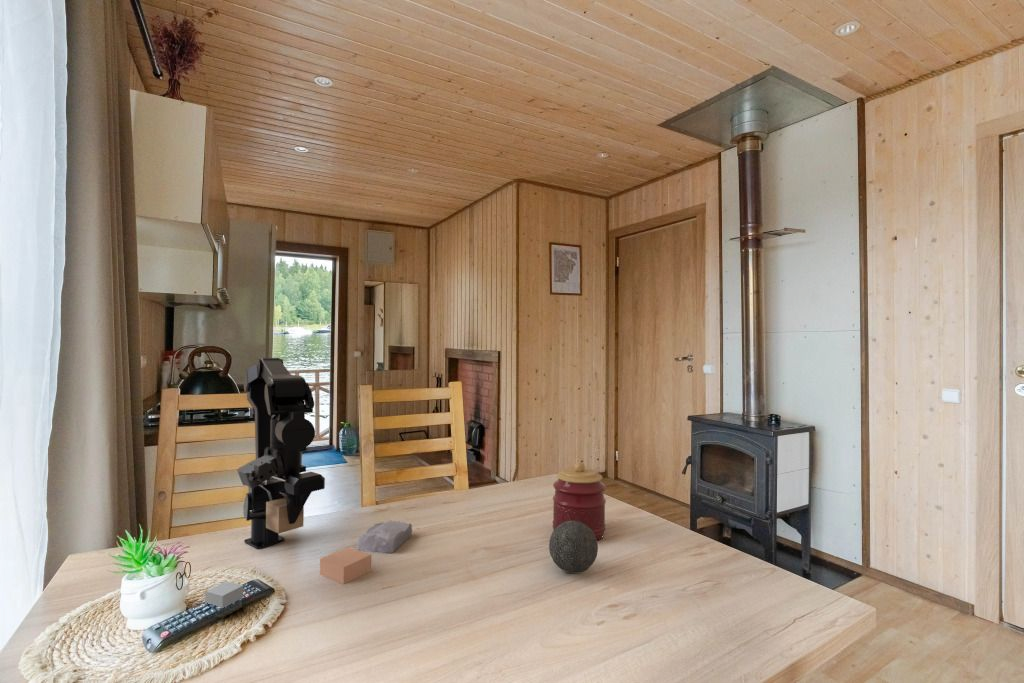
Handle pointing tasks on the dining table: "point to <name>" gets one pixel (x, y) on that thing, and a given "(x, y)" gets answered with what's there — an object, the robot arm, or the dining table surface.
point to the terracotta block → (345, 565)
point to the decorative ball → (573, 546)
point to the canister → (580, 498)
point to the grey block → (224, 594)
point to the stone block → (385, 537)
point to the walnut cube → (281, 516)
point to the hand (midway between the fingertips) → (285, 520)
